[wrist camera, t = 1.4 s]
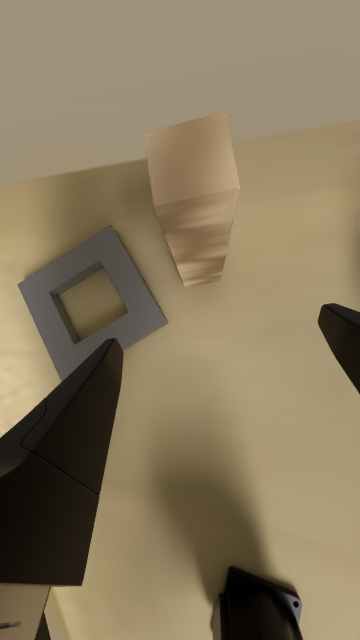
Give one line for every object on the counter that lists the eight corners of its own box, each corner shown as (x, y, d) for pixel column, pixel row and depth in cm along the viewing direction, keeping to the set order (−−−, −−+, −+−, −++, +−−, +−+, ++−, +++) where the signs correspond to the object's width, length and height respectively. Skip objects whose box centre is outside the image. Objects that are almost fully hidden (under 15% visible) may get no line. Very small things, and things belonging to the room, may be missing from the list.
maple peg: (214, 247, 24) (224, 111, 10) (220, 280, 23) (240, 187, 9) (179, 253, 24) (143, 132, 10) (184, 287, 24) (153, 206, 10)
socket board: (115, 231, 26) (110, 224, 24) (168, 323, 23) (166, 321, 22) (28, 287, 26) (17, 284, 25) (71, 381, 24) (62, 383, 23)
